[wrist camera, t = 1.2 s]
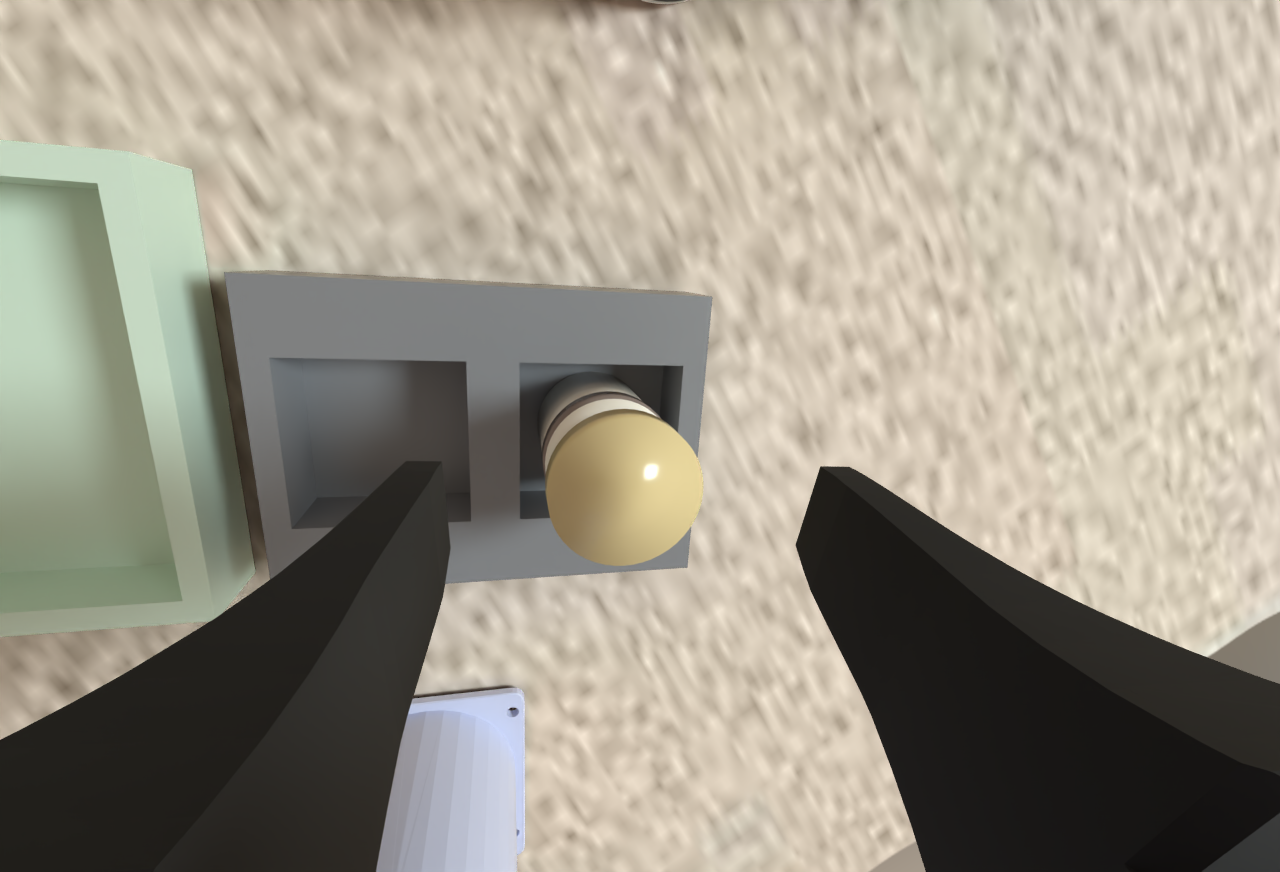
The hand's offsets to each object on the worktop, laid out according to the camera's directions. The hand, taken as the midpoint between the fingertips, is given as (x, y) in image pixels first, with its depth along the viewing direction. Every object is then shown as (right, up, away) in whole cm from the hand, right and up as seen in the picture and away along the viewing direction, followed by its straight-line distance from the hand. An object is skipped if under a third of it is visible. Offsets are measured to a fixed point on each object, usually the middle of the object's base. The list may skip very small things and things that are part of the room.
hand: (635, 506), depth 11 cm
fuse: (-2, +2, +11) cm, 11 cm away
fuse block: (-5, +2, +10) cm, 12 cm away
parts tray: (-19, +3, +7) cm, 20 cm away
